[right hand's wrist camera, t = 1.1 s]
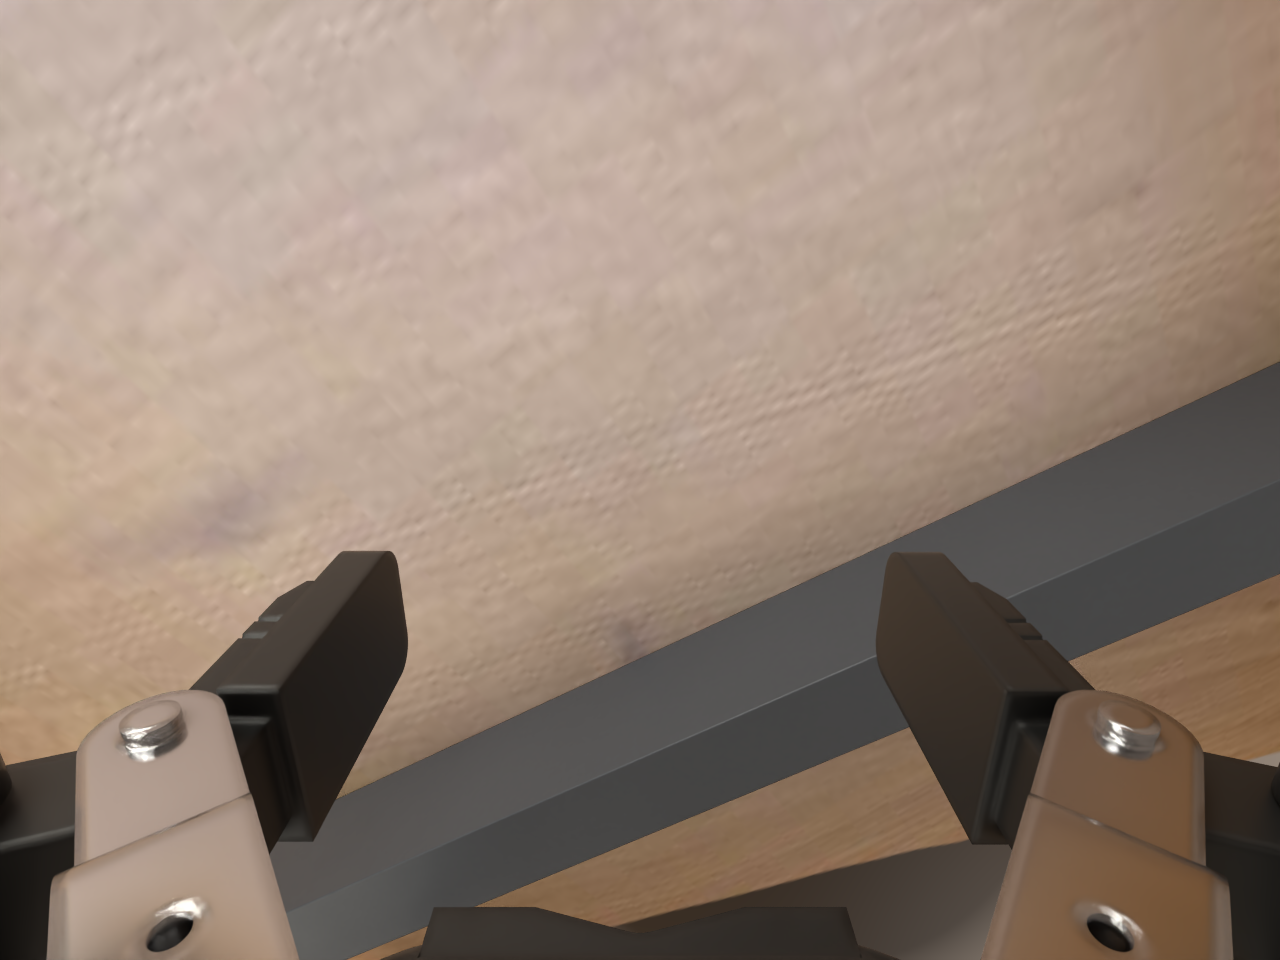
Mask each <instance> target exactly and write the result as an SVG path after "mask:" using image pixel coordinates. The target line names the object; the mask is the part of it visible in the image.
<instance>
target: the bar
mask: <svg viewBox="0 0 1280 960" xmlns="http://www.w3.org/2000/svg"><path fill="white" fill-rule="evenodd" d="M893 552H941V553H943V554H944V555H946V556H947V558H948V559H949V560H950V561H951V562H952V563H953V564H954V565H955V566H956V567H957V568H958V569H959V571H960V572H961V573H962V574H963V575H964V576H965V577H966V578H967V579H968V580H969V581H970V582H978V583H980V584H981V585H983V586H985V587H987V588H988V589H990V590H992V591H994V592H995V593H997V594H999V595H1001V596H1002V597H1004V598H1006V599H1007V600H1008V601H1009V602H1010V603H1011V604H1012V605H1013V606H1014V607H1015V608H1016V609H1017V610H1018V611H1019V612H1020V613H1021V614H1022V615H1023V616H1024V617H1025V618H1026V622H1027V623H1031V624H1032V625H1033V626H1034V627H1035V628H1036V629H1037V630H1038V632H1039V633H1040V634H1041V635H1042V638H1043V640H1047V641H1048V642H1049V643H1050V644H1051V645H1052V646H1053V647H1054V648H1055V649H1056V650H1057V651H1058V652H1059V653H1060V654H1061V655H1062V656H1063V657H1064V658H1065V659H1066V660H1067V661H1070V660H1072V659H1075V658H1077V657H1080V656H1082V655H1085V654H1087V653H1089V652H1092V651H1094V650H1097V649H1099V648H1101V647H1104V646H1106V645H1109V644H1111V643H1114V642H1116V641H1118V640H1121V639H1123V638H1126V637H1128V636H1131V635H1133V634H1135V633H1138V632H1140V631H1143V630H1145V629H1147V628H1150V627H1152V626H1155V625H1157V624H1160V623H1162V622H1164V621H1167V620H1169V619H1172V618H1174V617H1177V616H1179V615H1181V614H1184V613H1186V612H1189V611H1191V610H1193V609H1196V608H1198V607H1201V606H1203V605H1206V604H1208V603H1210V602H1213V601H1215V600H1218V599H1220V598H1222V597H1225V596H1227V595H1230V594H1232V593H1235V592H1237V591H1239V590H1242V589H1244V588H1247V587H1249V586H1252V585H1254V584H1256V583H1259V582H1261V581H1264V580H1266V579H1268V578H1271V577H1273V576H1276V575H1278V574H1280V362H1278V363H1276V364H1274V365H1272V366H1270V367H1267V368H1265V369H1263V370H1261V371H1259V372H1257V373H1255V374H1252V375H1250V376H1248V377H1246V378H1244V379H1242V380H1239V381H1237V382H1235V383H1233V384H1231V385H1229V386H1227V387H1224V388H1222V389H1220V390H1218V391H1216V392H1214V393H1211V394H1209V395H1207V396H1205V397H1203V398H1201V399H1199V400H1196V401H1194V402H1192V403H1190V404H1188V405H1186V406H1183V407H1181V408H1179V409H1177V410H1175V411H1173V412H1171V413H1168V414H1166V415H1164V416H1162V417H1160V418H1158V419H1155V420H1153V421H1151V422H1149V423H1147V424H1145V425H1142V426H1140V427H1138V428H1136V429H1134V430H1132V431H1130V432H1127V433H1125V434H1123V435H1121V436H1119V437H1117V438H1114V439H1112V440H1110V441H1108V442H1106V443H1104V444H1102V445H1099V446H1097V447H1095V448H1093V449H1091V450H1089V451H1086V452H1084V453H1082V454H1080V455H1078V456H1076V457H1074V458H1071V459H1069V460H1067V461H1065V462H1063V463H1061V464H1058V465H1056V466H1054V467H1052V468H1050V469H1048V470H1046V471H1043V472H1041V473H1039V474H1037V475H1035V476H1033V477H1030V478H1028V479H1026V480H1024V481H1022V482H1020V483H1017V484H1015V485H1013V486H1011V487H1009V488H1007V489H1005V490H1002V491H1000V492H998V493H996V494H994V495H992V496H989V497H987V498H985V499H983V500H981V501H979V502H977V503H974V504H972V505H970V506H968V507H966V508H964V509H961V510H959V511H957V512H955V513H953V514H951V515H949V516H946V517H944V518H942V519H940V520H938V521H936V522H933V523H931V524H929V525H927V526H925V527H923V528H921V529H918V530H916V531H914V532H912V533H910V534H908V535H905V536H903V537H901V538H899V539H897V540H895V541H893V542H890V543H888V544H886V545H884V546H882V547H880V548H877V549H875V550H873V551H871V552H869V553H867V554H864V555H862V556H860V557H858V558H856V559H854V560H852V561H849V562H847V563H845V564H843V565H841V566H839V567H836V568H834V569H832V570H830V571H828V572H826V573H824V574H821V575H819V576H817V577H815V578H813V579H811V580H808V581H806V582H804V583H802V584H800V585H798V586H796V587H793V588H791V589H789V590H787V591H785V592H783V593H780V594H778V595H776V596H774V597H772V598H770V599H768V600H765V601H763V602H761V603H759V604H757V605H755V606H752V607H750V608H748V609H746V610H744V611H742V612H740V613H737V614H735V615H733V616H731V617H729V618H727V619H724V620H722V621H720V622H718V623H716V624H714V625H711V626H709V627H707V628H705V629H703V630H701V631H699V632H696V633H694V634H692V635H690V636H688V637H686V638H683V639H681V640H679V641H677V642H675V643H673V644H671V645H668V646H666V647H664V648H662V649H660V650H658V651H655V652H653V653H651V654H649V655H647V656H645V657H643V658H640V659H638V660H636V661H634V662H632V663H630V664H627V665H625V666H623V667H621V668H619V669H617V670H615V671H612V672H610V673H608V674H606V675H604V676H602V677H599V678H597V679H595V680H593V681H591V682H589V683H586V684H584V685H582V686H580V687H578V688H576V689H574V690H571V691H569V692H567V693H565V694H563V695H561V696H558V697H556V698H554V699H552V700H550V701H548V702H546V703H543V704H541V705H539V706H537V707H535V708H533V709H530V710H528V711H526V712H524V713H522V714H520V715H518V716H515V717H513V718H511V719H509V720H507V721H505V722H502V723H500V724H498V725H496V726H494V727H492V728H490V729H487V730H485V731H483V732H481V733H479V734H477V735H474V736H472V737H470V738H468V739H466V740H464V741H462V742H459V743H457V744H455V745H453V746H451V747H449V748H446V749H444V750H442V751H440V752H438V753H436V754H433V755H431V756H429V757H427V758H425V759H423V760H421V761H418V762H416V763H414V764H412V765H410V766H408V767H405V768H403V769H401V770H399V771H397V772H395V773H393V774H390V775H388V776H386V777H384V778H382V779H380V780H377V781H375V782H373V783H371V784H369V785H367V786H365V787H362V788H360V789H358V790H356V791H354V792H352V793H349V794H347V795H345V796H343V797H341V798H339V799H337V800H335V801H334V803H333V805H332V807H331V809H330V811H329V813H328V815H327V817H326V819H325V820H324V822H323V824H322V826H321V828H320V830H319V832H318V834H317V836H316V837H315V839H314V841H313V842H277V843H276V845H275V846H274V848H273V850H272V851H271V853H270V855H269V856H270V860H271V863H272V867H273V870H274V873H275V877H276V880H277V884H278V887H279V891H280V894H281V898H282V901H283V905H284V908H285V911H286V915H287V918H288V922H289V925H290V929H291V932H292V936H293V939H294V943H295V946H296V949H297V953H298V956H299V960H347V959H349V958H351V957H354V956H356V955H359V954H361V953H364V952H366V951H368V950H371V949H373V948H376V947H378V946H380V945H383V944H385V943H388V942H390V941H393V940H395V939H397V938H400V937H402V936H405V935H407V934H409V933H412V932H414V931H417V930H419V929H422V928H424V927H426V926H428V925H429V921H430V918H431V915H432V911H433V908H434V907H475V906H477V905H480V904H482V903H484V902H487V901H489V900H492V899H494V898H497V897H499V896H501V895H504V894H506V893H509V892H511V891H514V890H516V889H518V888H521V887H523V886H526V885H528V884H530V883H533V882H535V881H538V880H540V879H543V878H545V877H547V876H550V875H552V874H555V873H557V872H560V871H562V870H564V869H567V868H569V867H572V866H574V865H576V864H579V863H581V862H584V861H586V860H589V859H591V858H593V857H596V856H598V855H601V854H603V853H605V852H608V851H610V850H613V849H615V848H618V847H620V846H622V845H625V844H627V843H630V842H632V841H635V840H637V839H639V838H642V837H644V836H647V835H649V834H651V833H654V832H656V831H659V830H661V829H664V828H666V827H668V826H671V825H673V824H676V823H678V822H680V821H683V820H685V819H688V818H690V817H693V816H695V815H697V814H700V813H702V812H705V811H707V810H710V809H712V808H714V807H717V806H719V805H722V804H724V803H726V802H729V801H731V800H734V799H736V798H739V797H741V796H743V795H746V794H748V793H751V792H753V791H755V790H758V789H760V788H763V787H765V786H768V785H770V784H772V783H775V782H777V781H780V780H782V779H785V778H787V777H789V776H792V775H794V774H797V773H799V772H801V771H804V770H806V769H809V768H811V767H814V766H816V765H818V764H821V763H823V762H826V761H828V760H830V759H833V758H835V757H838V756H840V755H843V754H845V753H847V752H850V751H852V750H855V749H857V748H860V747H862V746H864V745H867V744H869V743H872V742H874V741H876V740H879V739H881V738H884V737H886V736H889V735H891V734H893V733H896V732H898V731H901V730H903V729H906V728H908V727H909V725H908V723H907V722H906V720H905V718H904V716H903V714H902V712H901V710H900V708H899V707H898V705H897V703H896V701H895V699H894V697H893V695H892V693H891V692H890V690H889V688H888V686H887V684H886V682H885V680H884V679H883V677H882V674H881V672H880V669H879V666H878V661H877V655H876V632H877V625H878V618H879V611H880V604H881V597H882V590H883V583H884V576H885V569H886V564H887V560H888V558H889V556H890V555H891V554H892V553H893Z"/></svg>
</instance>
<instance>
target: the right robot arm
mask: <svg viewBox="0 0 1280 960" xmlns="http://www.w3.org/2000/svg"><path fill="white" fill-rule="evenodd" d="M407 650H408V634H407V627H406V620H405V612H404V605H403V598H402V591H401V584H400V577H399V570H398V564H397V560H396V558H395V556H394V554H393V553H392V552H391V551H343V552H341V553H340V554H338V556H337V557H336V558H335V559H334V560H333V561H332V562H331V563H330V564H329V565H328V567H327V568H326V569H325V570H324V571H323V572H322V573H321V574H320V575H319V576H318V577H317V579H316V580H315V581H306V582H304V583H303V584H301V585H299V586H297V587H296V588H294V589H292V590H290V591H289V592H287V593H285V594H283V595H282V596H280V597H278V598H277V599H276V600H275V601H274V602H273V603H272V604H271V605H270V606H269V607H268V608H267V609H266V610H265V611H264V612H263V614H262V615H261V616H260V617H259V620H258V622H254V623H253V624H252V625H251V626H250V627H249V628H248V629H247V630H246V631H245V632H244V633H243V637H242V638H238V639H237V640H236V641H235V642H234V643H233V645H232V646H231V647H230V648H229V649H228V650H227V651H226V652H225V653H224V654H223V655H222V656H221V657H220V658H219V659H218V660H217V661H216V662H215V663H214V664H213V665H212V666H211V667H210V668H209V669H208V670H207V671H206V672H205V673H204V675H203V676H202V677H201V678H200V679H199V680H198V681H197V682H196V683H195V684H194V685H193V686H192V687H191V688H190V689H189V690H181V691H173V692H168V693H163V694H160V695H156V696H153V697H149V698H147V699H144V700H141V701H138V702H136V703H134V704H132V705H129V706H127V707H125V708H123V709H121V710H120V711H118V712H116V713H114V714H113V715H111V716H109V717H108V718H106V719H105V720H103V721H102V722H101V723H100V724H98V725H97V726H96V727H95V728H94V729H92V730H91V731H90V732H89V733H88V734H87V736H86V737H85V738H84V739H83V741H82V742H81V744H80V746H79V748H78V750H77V751H74V752H69V753H64V754H59V755H55V756H50V757H45V758H40V759H35V760H30V761H25V762H21V763H16V764H11V765H6V766H5V763H4V761H3V759H2V756H1V754H0V960H299V956H298V953H297V949H296V946H295V943H294V939H293V936H292V932H291V929H290V925H289V922H288V918H287V915H286V911H285V908H284V905H283V901H282V898H281V894H280V891H279V887H278V884H277V880H276V877H275V873H274V870H273V867H272V863H271V860H270V856H269V855H270V853H271V851H272V850H273V848H274V846H275V845H276V843H277V842H313V841H314V839H315V837H316V836H317V834H318V832H319V830H320V828H321V826H322V824H323V822H324V820H325V819H326V817H327V815H328V813H329V811H330V809H331V807H332V805H333V803H334V801H335V800H336V798H337V796H338V794H339V792H340V790H341V788H342V786H343V784H344V783H345V781H346V779H347V777H348V775H349V773H350V771H351V769H352V767H353V766H354V764H355V762H356V760H357V758H358V756H359V754H360V752H361V750H362V748H363V747H364V745H365V743H366V741H367V739H368V737H369V735H370V733H371V731H372V730H373V728H374V726H375V724H376V722H377V720H378V718H379V716H380V714H381V713H382V711H383V709H384V707H385V705H386V703H387V701H388V699H389V697H390V695H391V694H392V692H393V690H394V688H395V686H396V684H397V682H398V680H399V678H400V677H401V675H402V672H403V670H404V667H405V663H406V658H407ZM876 655H877V661H878V666H879V669H880V672H881V674H882V677H883V679H884V680H885V682H886V684H887V686H888V688H889V690H890V692H891V693H892V695H893V697H894V699H895V701H896V703H897V705H898V707H899V708H900V710H901V712H902V714H903V716H904V718H905V720H906V722H907V723H908V725H909V727H910V729H911V731H912V733H913V735H914V736H915V738H916V740H917V742H918V744H919V746H920V748H921V750H922V751H923V753H924V755H925V757H926V759H927V761H928V763H929V765H930V766H931V768H932V770H933V772H934V774H935V776H936V778H937V780H938V781H939V783H940V785H941V787H942V789H943V791H944V793H945V794H946V796H947V798H948V800H949V802H950V804H951V806H952V808H953V809H954V811H955V813H956V815H957V817H958V819H959V821H960V823H961V824H962V826H963V828H964V830H965V832H966V834H967V836H968V837H969V839H970V841H971V843H972V844H1009V846H1010V847H1011V849H1012V853H1011V856H1010V860H1009V863H1008V867H1007V870H1006V873H1005V877H1004V880H1003V884H1002V887H1001V891H1000V894H999V898H998V901H997V905H996V908H995V912H994V915H993V918H992V922H991V925H990V929H989V932H988V936H987V939H986V943H985V946H984V949H983V953H982V956H981V960H1280V763H1279V766H1278V767H1274V766H1269V765H1264V764H1259V763H1254V762H1250V761H1245V760H1240V759H1235V758H1230V757H1225V756H1220V755H1216V754H1211V753H1206V752H1203V750H1202V748H1201V746H1200V744H1199V742H1198V741H1197V739H1196V738H1195V737H1194V736H1193V734H1192V733H1191V732H1190V731H1189V730H1188V729H1186V728H1185V727H1184V726H1183V725H1182V724H1180V723H1179V722H1178V721H1177V720H1175V719H1174V718H1172V717H1171V716H1169V715H1167V714H1166V713H1164V712H1162V711H1160V710H1159V709H1157V708H1155V707H1153V706H1151V705H1148V704H1146V703H1144V702H1142V701H1139V700H1136V699H1133V698H1131V697H1127V696H1124V695H1120V694H1117V693H1112V692H1107V691H1099V690H1095V689H1094V688H1093V687H1092V686H1091V685H1090V684H1089V683H1088V682H1087V681H1086V680H1085V679H1084V678H1083V677H1082V676H1081V675H1080V674H1079V673H1078V671H1077V670H1076V669H1075V668H1074V667H1073V666H1072V665H1071V664H1070V663H1069V662H1068V661H1067V660H1066V659H1065V658H1064V657H1063V656H1062V655H1061V654H1060V653H1059V652H1058V651H1057V650H1056V649H1055V648H1054V647H1053V646H1052V645H1051V644H1050V643H1049V642H1048V641H1047V640H1043V638H1042V635H1041V634H1040V633H1039V632H1038V630H1037V629H1036V628H1035V627H1034V626H1033V625H1032V624H1031V623H1027V622H1026V618H1025V617H1024V616H1023V615H1022V614H1021V613H1020V612H1019V611H1018V610H1017V609H1016V608H1015V607H1014V606H1013V605H1012V604H1011V603H1010V602H1009V601H1008V600H1007V599H1006V598H1004V597H1002V596H1001V595H999V594H997V593H995V592H994V591H992V590H990V589H988V588H987V587H985V586H983V585H981V584H980V583H978V582H970V581H969V580H968V579H967V578H966V577H965V576H964V575H963V574H962V573H961V572H960V571H959V569H958V568H957V567H956V566H955V565H954V564H953V563H952V562H951V561H950V560H949V559H948V558H947V556H946V555H944V554H943V553H941V552H893V553H892V554H891V555H890V556H889V558H888V560H887V564H886V569H885V576H884V583H883V590H882V597H881V604H880V611H879V618H878V625H877V632H876ZM381 960H899V959H897V958H895V957H892V956H889V955H887V954H884V953H881V952H879V951H876V950H874V949H870V948H867V947H863V946H860V945H858V944H857V941H856V938H855V934H854V931H853V928H852V925H851V921H850V918H849V915H848V911H847V908H846V907H744V908H740V909H736V910H732V911H728V912H725V913H721V914H717V915H713V916H710V917H706V918H702V919H698V920H694V921H690V922H687V923H683V924H679V925H675V926H671V927H667V928H663V929H660V930H656V931H652V932H647V933H633V932H628V931H624V930H620V929H617V928H613V927H609V926H605V925H601V924H597V923H594V922H590V921H586V920H582V919H578V918H574V917H571V916H567V915H563V914H559V913H555V912H552V911H548V910H544V909H540V908H536V907H434V908H433V911H432V915H431V918H430V921H429V925H428V928H427V931H426V934H425V938H424V941H423V944H422V945H420V946H417V947H413V948H409V949H406V950H404V951H401V952H399V953H396V954H393V955H391V956H388V957H385V958H383V959H381Z"/></svg>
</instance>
